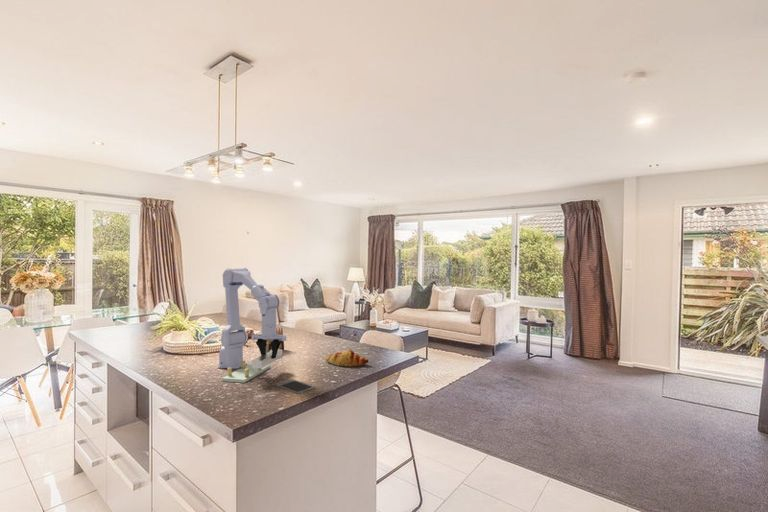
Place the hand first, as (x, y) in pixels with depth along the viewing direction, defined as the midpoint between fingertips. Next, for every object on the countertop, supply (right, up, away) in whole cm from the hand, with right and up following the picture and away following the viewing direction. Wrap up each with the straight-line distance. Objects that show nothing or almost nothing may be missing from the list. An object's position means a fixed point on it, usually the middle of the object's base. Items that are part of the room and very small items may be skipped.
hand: (268, 357), depth 149 cm
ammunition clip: (-9, -8, +40) cm, 41 cm away
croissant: (+30, -8, +18) cm, 36 cm away
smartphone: (+14, -8, -12) cm, 20 cm away
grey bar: (0, -2, 0) cm, 2 cm away
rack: (-10, -8, +3) cm, 13 cm away
